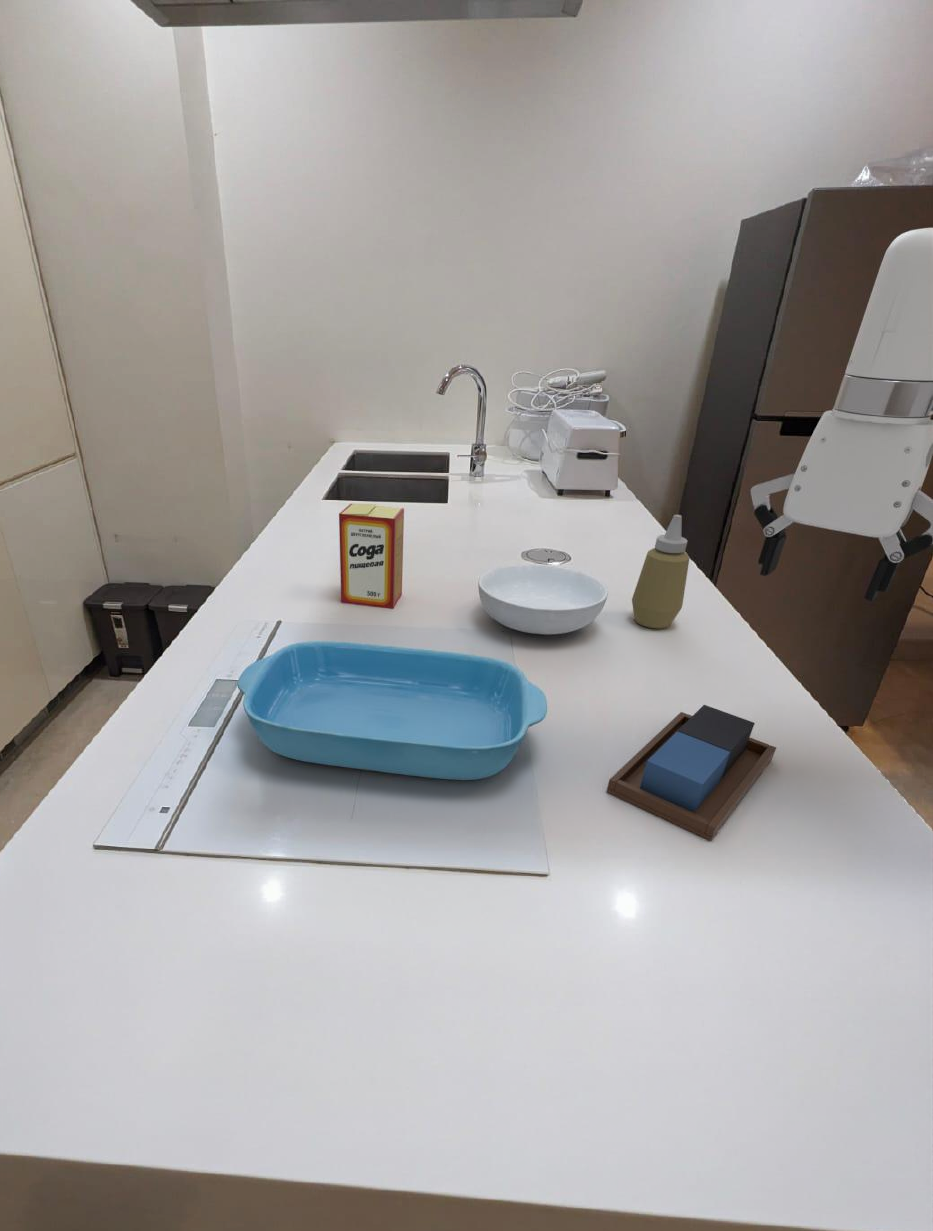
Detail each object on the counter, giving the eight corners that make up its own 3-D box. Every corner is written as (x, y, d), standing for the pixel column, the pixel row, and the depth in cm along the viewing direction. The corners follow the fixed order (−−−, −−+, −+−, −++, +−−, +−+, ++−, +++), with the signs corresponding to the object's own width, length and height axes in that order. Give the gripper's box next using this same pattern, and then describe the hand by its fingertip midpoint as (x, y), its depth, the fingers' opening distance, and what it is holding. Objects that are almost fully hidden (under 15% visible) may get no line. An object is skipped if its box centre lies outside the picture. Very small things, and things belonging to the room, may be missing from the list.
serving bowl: (621, 620, 114) (629, 582, 111) (563, 663, 101) (571, 621, 97) (515, 589, 125) (519, 553, 122) (450, 625, 112) (453, 585, 108)
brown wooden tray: (772, 759, 81) (776, 747, 80) (710, 841, 68) (715, 828, 67) (677, 723, 87) (681, 711, 86) (606, 792, 75) (609, 779, 74)
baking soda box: (401, 594, 122) (404, 506, 114) (393, 608, 117) (394, 516, 108) (351, 589, 124) (350, 501, 116) (341, 602, 119) (338, 511, 110)
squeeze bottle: (628, 629, 111) (652, 520, 102) (626, 610, 118) (648, 506, 108) (679, 635, 110) (709, 525, 100) (674, 615, 116) (701, 511, 107)
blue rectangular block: (720, 780, 76) (730, 751, 74) (692, 814, 71) (702, 784, 69) (668, 759, 79) (677, 730, 77) (639, 790, 74) (647, 760, 72)
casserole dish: (537, 702, 91) (544, 655, 87) (542, 808, 72) (552, 753, 68) (273, 678, 95) (269, 632, 91) (214, 771, 76) (206, 718, 73)
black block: (744, 750, 81) (754, 722, 79) (720, 780, 76) (730, 751, 74) (695, 731, 84) (704, 704, 82) (669, 758, 79) (677, 730, 77)
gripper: (1011, 407, 57) (923, 597, 66) (792, 388, 67) (742, 556, 76) (1003, 416, 52) (909, 619, 61) (768, 394, 62) (717, 572, 71)
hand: (817, 584), depth 69 cm, fingers open, 9 cm apart
